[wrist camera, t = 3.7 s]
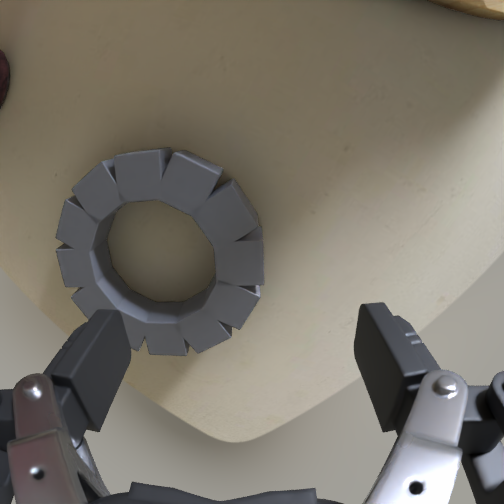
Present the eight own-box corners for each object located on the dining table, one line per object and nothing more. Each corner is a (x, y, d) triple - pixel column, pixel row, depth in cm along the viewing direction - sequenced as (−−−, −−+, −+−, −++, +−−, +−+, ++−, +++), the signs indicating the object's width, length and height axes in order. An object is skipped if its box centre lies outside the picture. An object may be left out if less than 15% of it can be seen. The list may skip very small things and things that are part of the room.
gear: (98, 330, 20) (85, 350, 18) (63, 163, 16) (41, 168, 14) (264, 331, 20) (265, 355, 18) (258, 141, 16) (260, 142, 14)
